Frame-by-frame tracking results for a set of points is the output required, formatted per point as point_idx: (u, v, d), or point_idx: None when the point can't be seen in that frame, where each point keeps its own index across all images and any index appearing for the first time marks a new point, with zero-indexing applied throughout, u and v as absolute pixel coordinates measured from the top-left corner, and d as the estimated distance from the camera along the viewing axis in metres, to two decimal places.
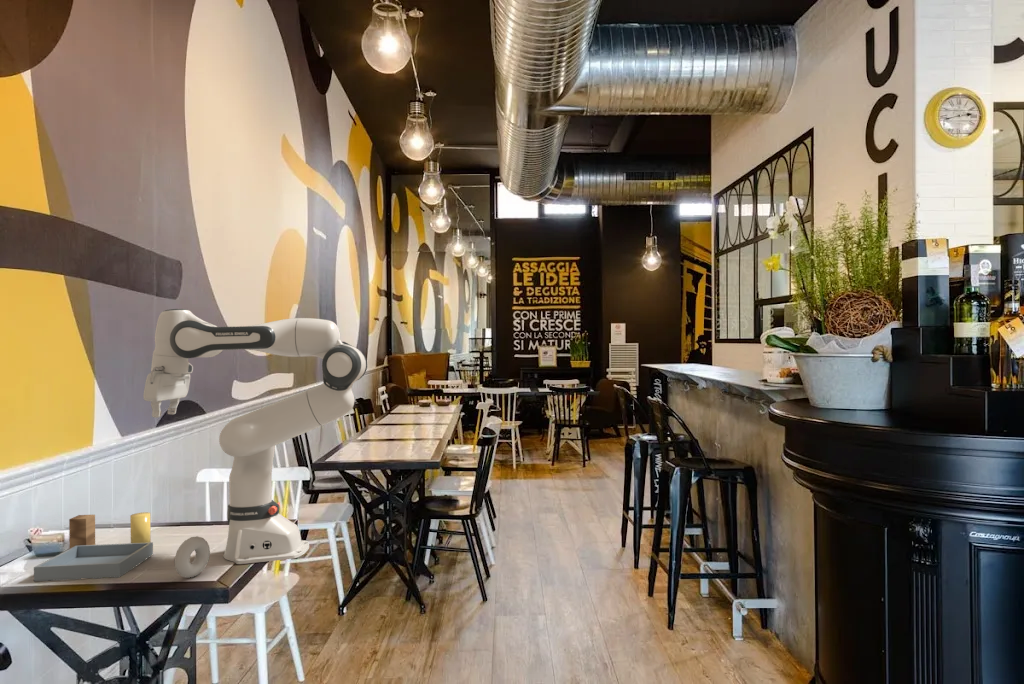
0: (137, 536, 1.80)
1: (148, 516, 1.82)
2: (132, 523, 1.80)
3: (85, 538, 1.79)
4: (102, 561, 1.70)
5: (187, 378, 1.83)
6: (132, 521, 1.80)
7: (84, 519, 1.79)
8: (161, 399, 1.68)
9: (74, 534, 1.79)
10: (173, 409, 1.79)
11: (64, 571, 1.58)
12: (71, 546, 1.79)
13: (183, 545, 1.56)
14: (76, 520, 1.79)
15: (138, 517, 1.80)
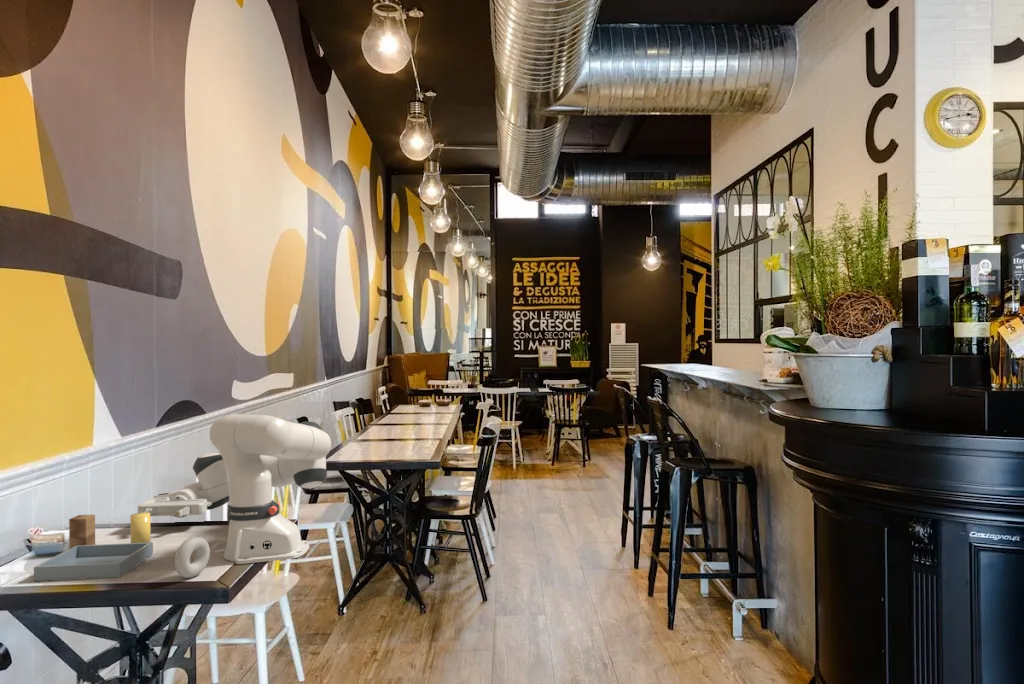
0: (137, 536, 1.80)
1: (148, 516, 1.82)
2: (132, 523, 1.80)
3: (85, 538, 1.79)
4: (102, 561, 1.70)
5: None
6: (132, 521, 1.80)
7: (84, 519, 1.79)
8: (192, 514, 2.01)
9: (74, 534, 1.79)
10: (150, 515, 1.97)
11: (64, 571, 1.58)
12: (71, 546, 1.79)
13: (183, 545, 1.56)
14: (76, 520, 1.79)
15: (138, 517, 1.80)
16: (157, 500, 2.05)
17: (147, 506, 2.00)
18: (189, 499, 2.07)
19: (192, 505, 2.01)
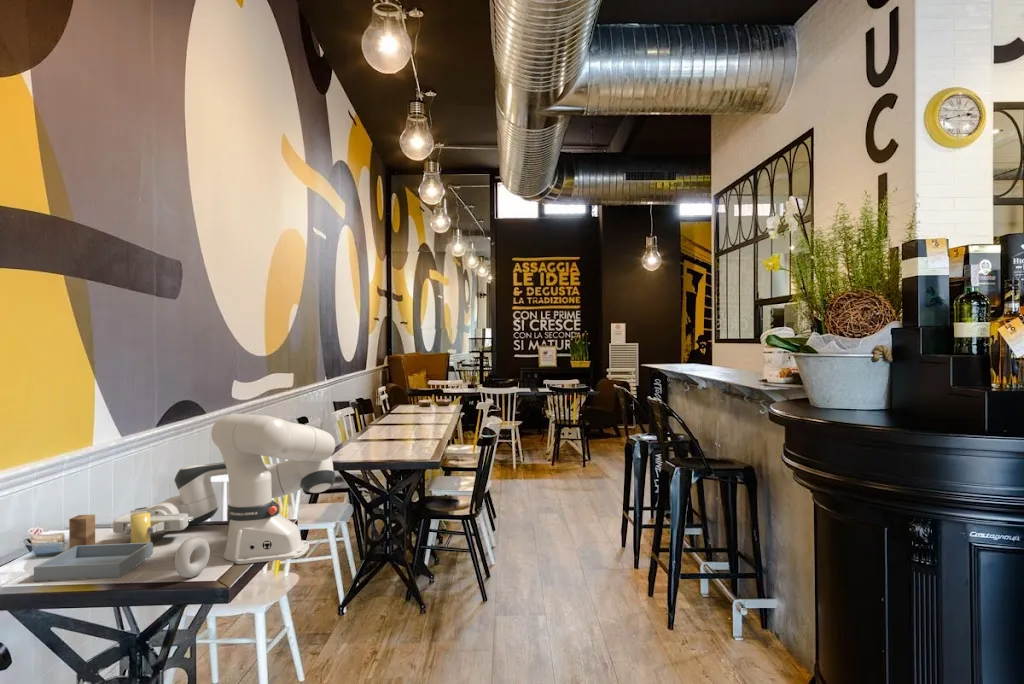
0: (137, 536, 1.80)
1: (148, 516, 1.82)
2: (132, 523, 1.80)
3: (85, 538, 1.79)
4: (102, 561, 1.70)
5: None
6: (132, 521, 1.80)
7: (84, 519, 1.79)
8: (172, 530, 1.87)
9: (74, 534, 1.79)
10: None
11: (64, 571, 1.58)
12: (71, 546, 1.79)
13: (183, 545, 1.56)
14: (76, 519, 1.79)
15: (138, 517, 1.80)
16: None
17: (123, 522, 1.86)
18: (169, 514, 1.93)
19: (172, 520, 1.87)
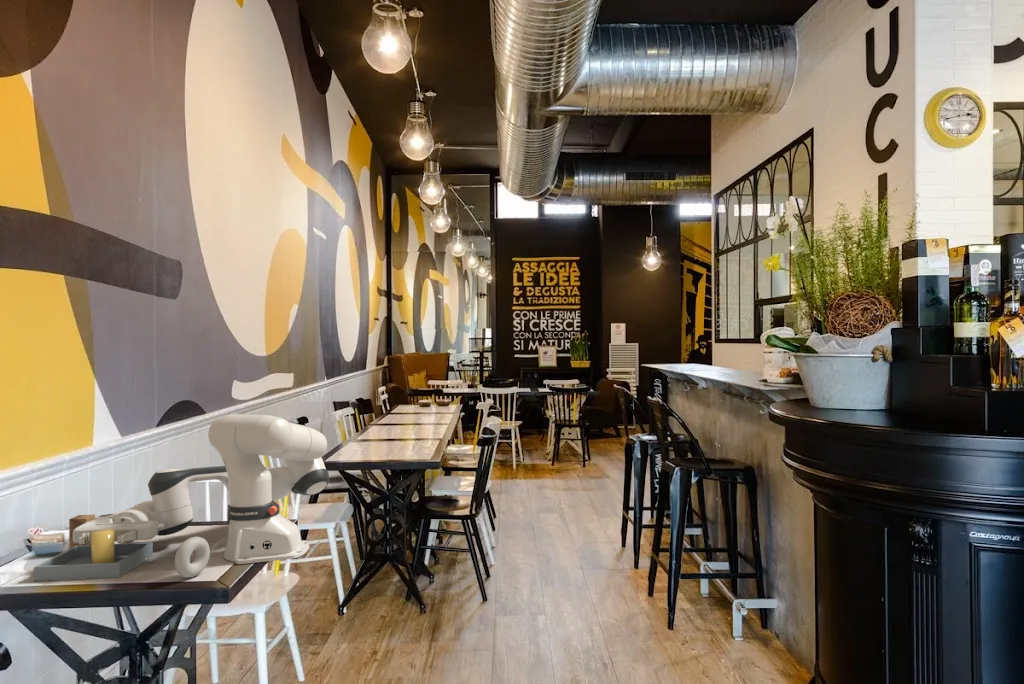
0: (98, 556, 1.61)
1: (111, 533, 1.63)
2: (93, 541, 1.61)
3: None
4: None
5: None
6: (93, 539, 1.61)
7: (84, 519, 1.79)
8: None
9: None
10: (87, 542, 1.63)
11: (64, 571, 1.58)
12: (71, 546, 1.79)
13: (183, 545, 1.56)
14: (76, 519, 1.79)
15: (100, 534, 1.61)
16: (98, 523, 1.72)
17: (84, 530, 1.66)
18: (137, 521, 1.74)
19: (139, 529, 1.67)
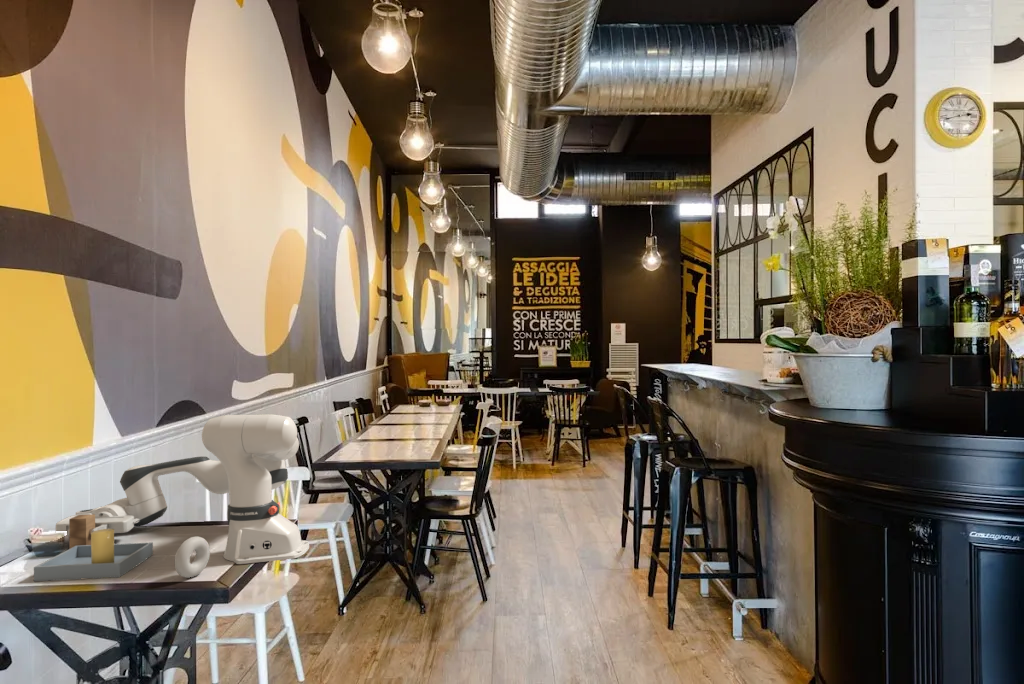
0: (98, 556, 1.61)
1: (111, 533, 1.63)
2: (93, 541, 1.61)
3: (85, 538, 1.79)
4: None
5: None
6: (93, 539, 1.61)
7: (84, 519, 1.79)
8: None
9: (74, 533, 1.79)
10: None
11: (64, 571, 1.58)
12: (71, 546, 1.79)
13: (183, 545, 1.56)
14: (76, 519, 1.79)
15: (99, 535, 1.61)
16: None
17: (66, 524, 1.84)
18: (114, 516, 1.91)
19: (115, 522, 1.85)
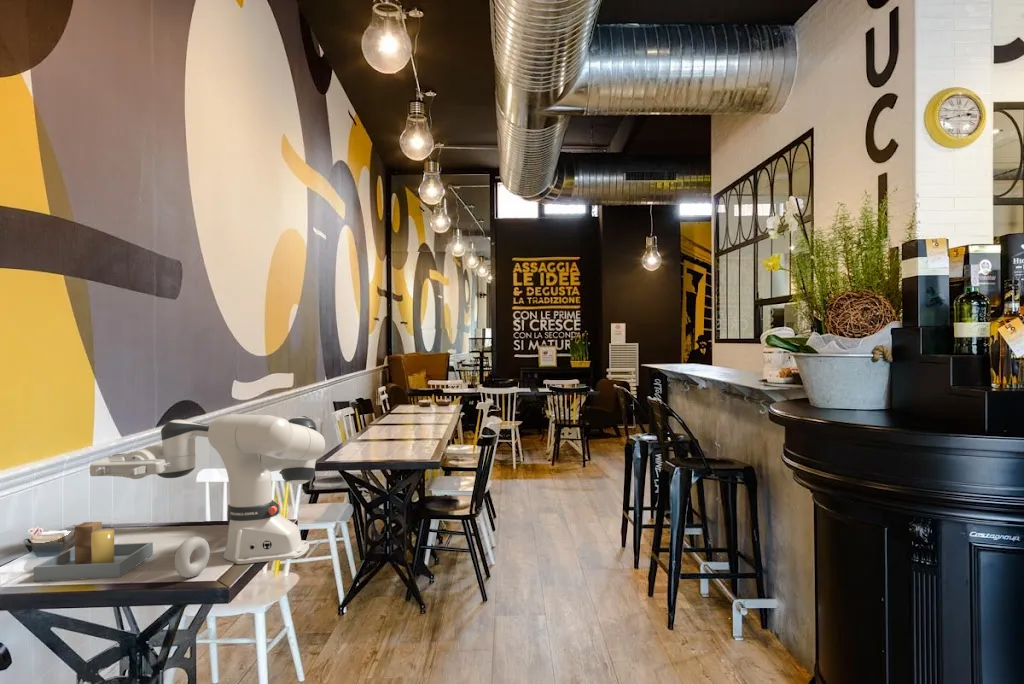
0: (98, 556, 1.61)
1: (111, 533, 1.63)
2: (93, 541, 1.61)
3: None
4: None
5: None
6: (93, 539, 1.61)
7: (90, 527, 1.68)
8: (148, 474, 1.90)
9: (79, 542, 1.68)
10: (103, 474, 1.85)
11: (64, 571, 1.58)
12: (76, 555, 1.68)
13: (183, 545, 1.56)
14: (81, 527, 1.68)
15: (100, 535, 1.61)
16: (111, 460, 1.94)
17: (100, 465, 1.88)
18: (146, 459, 1.95)
19: (148, 464, 1.89)
